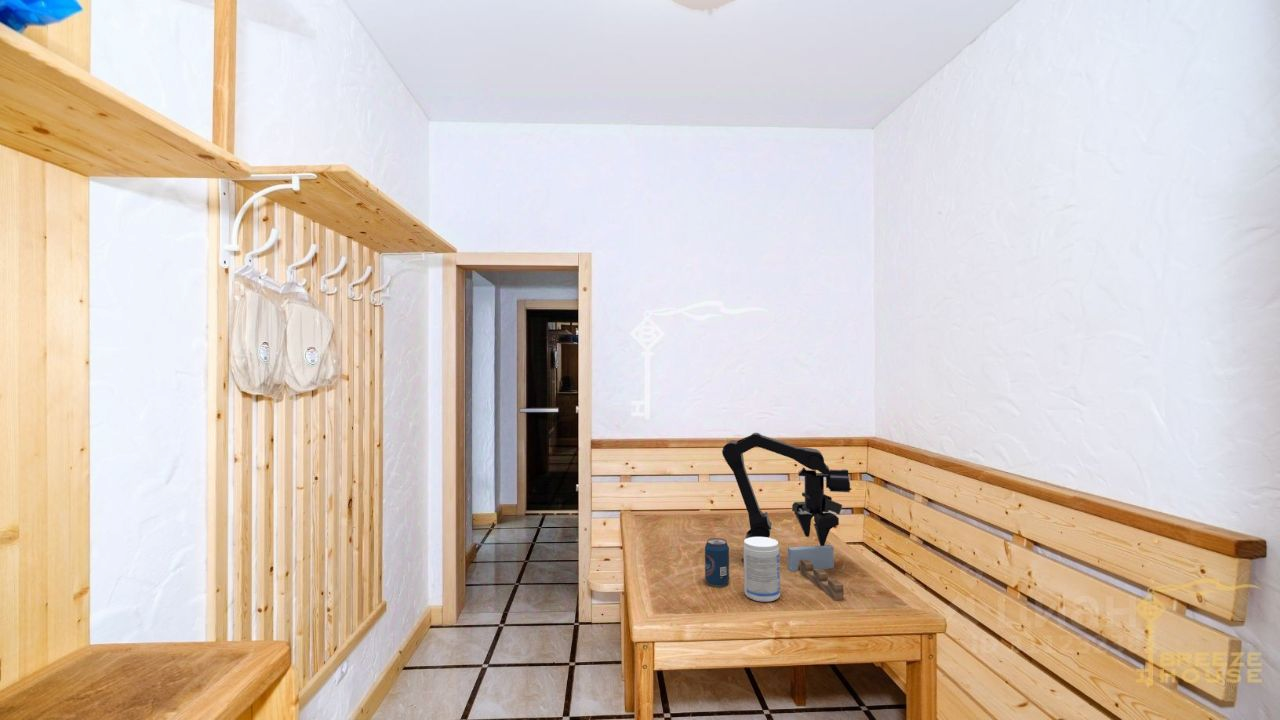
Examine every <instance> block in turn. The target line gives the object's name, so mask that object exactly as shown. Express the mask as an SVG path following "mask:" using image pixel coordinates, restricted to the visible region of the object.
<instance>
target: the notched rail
mask: <svg viewBox="0 0 1280 720" xmlns="http://www.w3.org/2000/svg"><path fill="white" fill-rule="evenodd" d="M799 569H800V570H799V573H800V575H802V576H803V577H805V578H806V579H807V580H808V581H810V582H811V583H812V584H814V585H815V586H816V587H818V588H819V589H821V591H823V592H824V593H825V594H827V595H828V596H829V597H831V598H832V599H833V598H834V599H833V600H834V601H836V600H837V601H843V600H845V599H844V598H845V595H844V593H845V591H844V584H843V583H842V582H840V581H839V580H838V579H836V578H832V579H828V578H829V577H828V575H829V574H828V573H827V572H826V571H825V570H824V569H814V567H813V563H811V562H810V561H808V560H807V559H806V560H800V562H799Z"/></svg>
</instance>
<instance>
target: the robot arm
mask: <svg viewBox="0 0 1280 720" xmlns="http://www.w3.org/2000/svg"><path fill="white" fill-rule="evenodd" d="M757 447H758V448H761V449H763V450H766V451H769V452H772V453H774V454H778V455H781V456H784V457H786V458H790V459H792V460H793V461H795V462H797V463H799V464H800V465H802V466H804V467H802V469H800V470H799V471H798V476H799V477H804V492H803V491H802V492H801V497H803V498H804V501H795V502H793V504H791V509H792V510H791V511H792V512H794V515H795V517H796V519H797V521H798V523H799V525H800V527H801V530H802V532H803V534H804V536H805V537H806V538H809V537H810V533H811V526H812V525H811V522H812V519H813V521H814V523H813V526H814V529H815V533H816V536H817V539H818V542H819V545H820V546H824V545H826V542H827V538H828V535H829V533H830V531H831V530H832V529H833V528H836V526H839V525H840V519H839V517H838V516H837V515H840V514H841V511H842V507H843V504H841V503H839V502H837V501H834V500H833V498H832V496H830V495H827V494H825V488H826V489H828V490H829V492H831V493H833V492H835V493H836V492H837V493H850V491H851V482H850V476H849V475H850V474H849V470H848V469H845V468H844V469H830V468H829V466H828V465H827V464H826V463H825V459H824V455H823V454H822V452H821V451H820V450H818V449H816V448H810V447H806V446H805V447H803V446H795V445H792V444H789V443H786V442H784V441H780V440H777V439H774V438H772V437H769V436H766V435H762V434H761V433H759V432H753V433H752V434H751V435H748V436H746V437H743V438H741V439H738V440H737V441H734V440H730V441H727V443H725V445H724V446H723V448H722V450H721V454H722V456H723V458H724V460H725V462H726V464H727V465H728V467H729V468H730V469H731V470H732V472H733V474H734V478H735V480H736V481H735V482H736V483H737V486H738V488H739V491H740V495H741V497H742V500H743V502H744V506H745V508H746V510H747V513H748V522H749V527H750V528H749V530H748V531H747V532H746V533H745V537H744V538H745V539H747V538H750V537H768V538H770V537H771V530H772V522H771V521H770V519H769V513H768V512H767V511H765V512H763V511H762V510H761V508H760V505H759V503H758V499H757V498H756V495H755V491H754V489H753V486H752V483H751V481H750V478H749V475H748V473H747V470H746V467H745V460H744V453H746V452H748V451H749V450H752V449H753V448H757ZM806 468H808V469H806ZM817 471H818V473H817ZM824 479H825V481H824ZM824 482H825V483H824ZM824 484H825V485H824ZM829 511H830V512H829ZM832 512H833V513H832ZM834 513H835V514H834ZM745 539H744V540H745ZM741 561H742V562H743V563H744V557H743V558H741Z"/></svg>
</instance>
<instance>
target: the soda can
mask: <svg viewBox="0 0 1280 720" xmlns="http://www.w3.org/2000/svg"><path fill="white" fill-rule="evenodd" d="M704 578H705V581H706V583H707V584H708V585H709V586H712V587H715V586H716V587H717V588H719V587H725V586H727V584H728V583H729V581H730V546H729V545H728V542H727V540H726V539H725V538H724V539H723V538H720V537H718V538H717V537H714V538H708V539H707V540H706V544H705V546H704Z"/></svg>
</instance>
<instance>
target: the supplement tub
mask: <svg viewBox="0 0 1280 720" xmlns="http://www.w3.org/2000/svg"><path fill="white" fill-rule="evenodd" d="M743 558H744V562H743V583H744V585H743V586H744V594H745V595H746V597H747V598H748V599H751V600H753V601H757V602H763V603H766V602H767V603H768V602H773V601H776V600H778V599H779V598H780V596H781V575H780V574H781V573H780V570H781V569H780V568H781V567H780V564H781V563H780V547H779V541H778V540H776V539H775V538H771V537H769V538H768V537H750V538H747V539H744V541H743Z"/></svg>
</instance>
